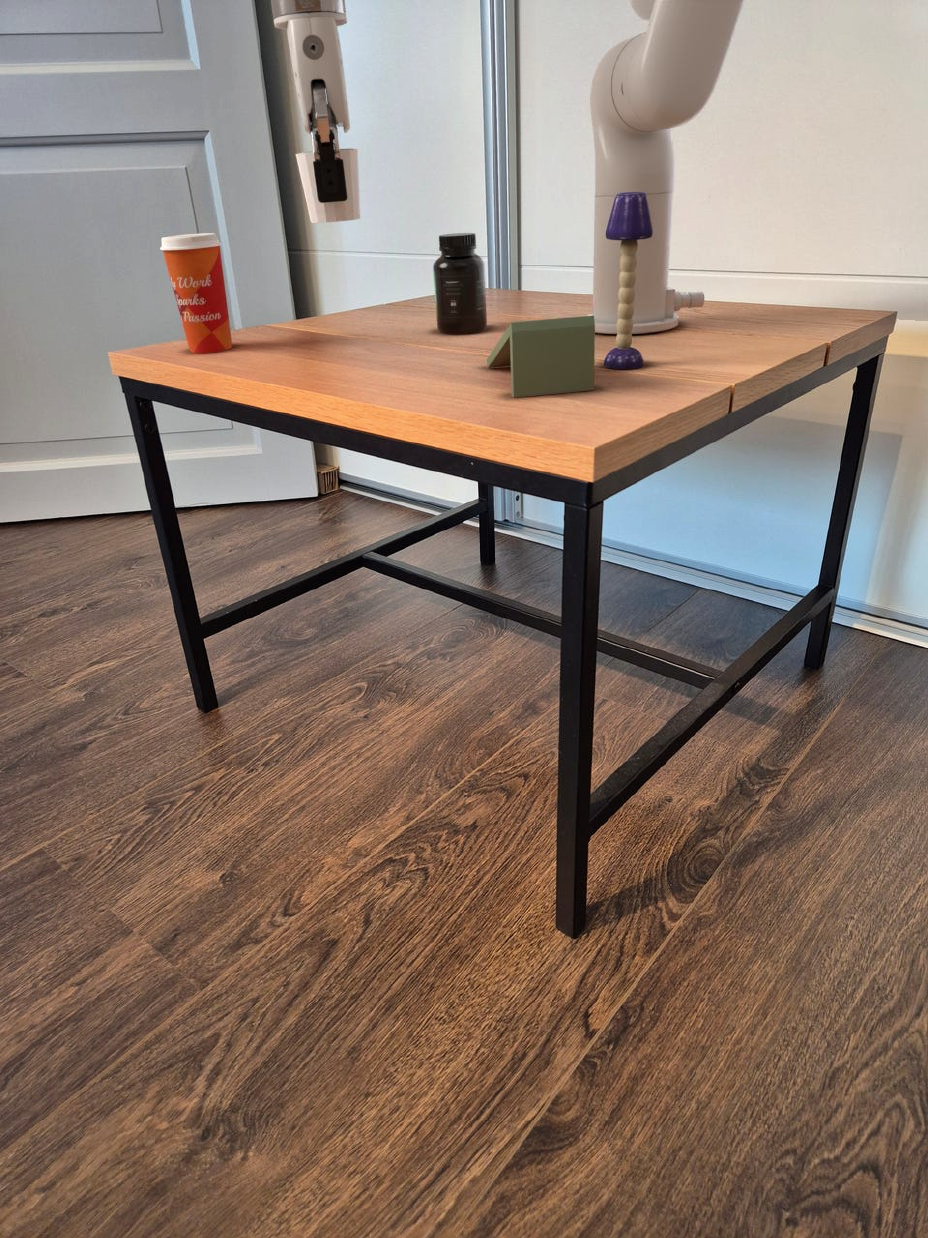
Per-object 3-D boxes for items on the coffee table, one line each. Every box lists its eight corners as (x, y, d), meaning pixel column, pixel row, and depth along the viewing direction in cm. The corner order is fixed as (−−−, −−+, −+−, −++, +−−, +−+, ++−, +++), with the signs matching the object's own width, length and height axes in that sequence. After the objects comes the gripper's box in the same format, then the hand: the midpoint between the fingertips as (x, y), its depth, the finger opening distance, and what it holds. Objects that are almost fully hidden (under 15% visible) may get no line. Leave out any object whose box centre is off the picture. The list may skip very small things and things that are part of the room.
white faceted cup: (353, 220, 92) (345, 147, 88) (296, 224, 93) (285, 152, 90) (373, 216, 98) (366, 147, 94) (318, 219, 99) (309, 152, 96)
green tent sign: (487, 367, 93) (484, 301, 90) (557, 361, 94) (556, 296, 90) (513, 397, 80) (511, 323, 77) (593, 390, 81) (595, 315, 78)
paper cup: (169, 354, 111) (144, 239, 104) (204, 342, 117) (182, 233, 110) (219, 355, 108) (196, 237, 101) (252, 343, 114) (232, 231, 108)
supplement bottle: (428, 333, 113) (421, 237, 108) (453, 324, 119) (447, 232, 113) (472, 335, 110) (467, 236, 105) (495, 326, 116) (492, 231, 110)
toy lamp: (655, 365, 89) (664, 190, 81) (622, 373, 87) (629, 193, 79) (624, 359, 93) (630, 190, 85) (592, 366, 91) (595, 194, 82)
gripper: (346, -11, 79) (368, 200, 87) (344, 18, 94) (364, 195, 102) (265, -6, 78) (296, 206, 87) (277, 22, 93) (302, 200, 102)
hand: (333, 199), depth 94 cm, fingers closed on white faceted cup, 6 cm apart
